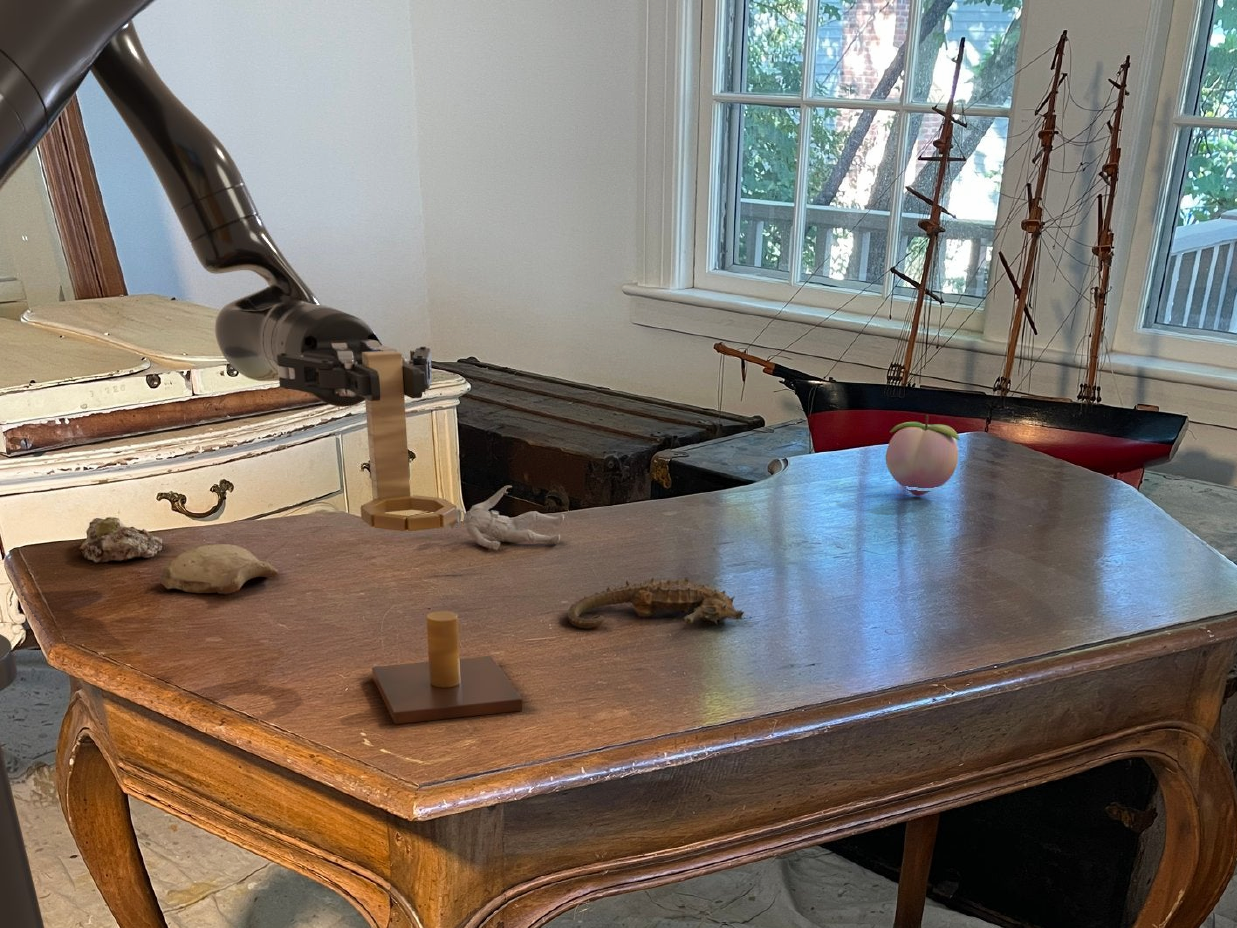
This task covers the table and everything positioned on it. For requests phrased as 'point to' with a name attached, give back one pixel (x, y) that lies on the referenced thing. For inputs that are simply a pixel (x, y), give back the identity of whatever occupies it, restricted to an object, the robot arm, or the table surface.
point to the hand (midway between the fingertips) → (396, 385)
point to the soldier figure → (504, 524)
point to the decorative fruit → (922, 455)
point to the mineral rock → (117, 541)
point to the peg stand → (445, 680)
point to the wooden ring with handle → (395, 456)
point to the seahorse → (659, 601)
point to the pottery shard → (214, 569)
